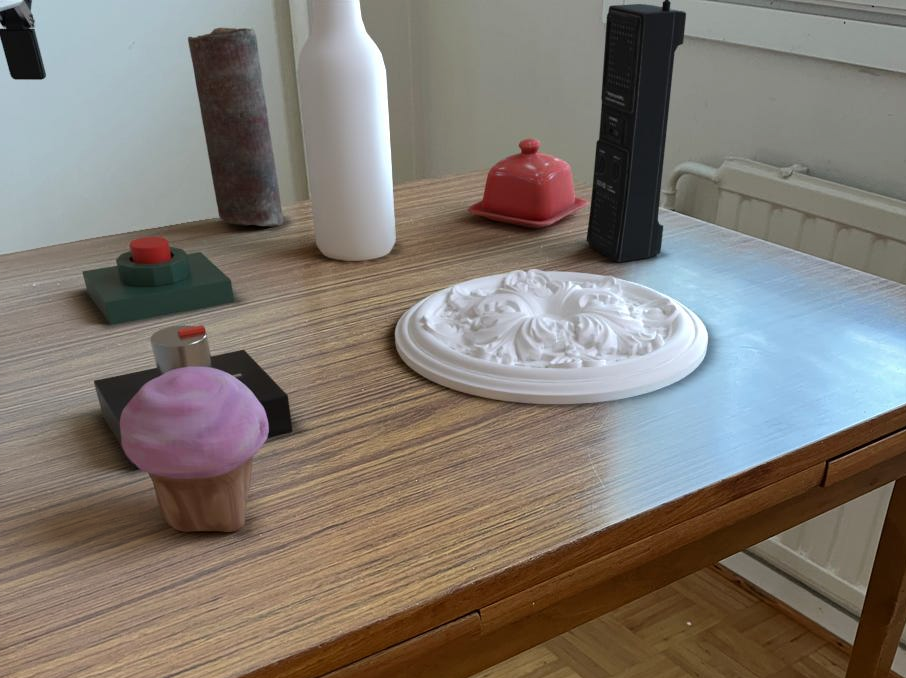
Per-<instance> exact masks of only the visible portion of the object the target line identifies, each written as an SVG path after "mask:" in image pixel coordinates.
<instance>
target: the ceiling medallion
mask: <svg viewBox="0 0 906 678" xmlns="http://www.w3.org/2000/svg"><path fill="white" fill-rule="evenodd" d="M394 340H395V348H396V351H397V354H398V355H399V357H400V358H401V360H402V361H403V362H404V363H405V365H407V366H408V367H409V368H410V369H411V370H413V371H414V372H415V373H417V374H418V375H420V376H422V377H424V378H425V379H427V380H429V381H431V382H433V383H436V384H438V385H440V386H443V387H444V388H449V389H451V390H454V391H458V392H461V393H464V394H467V395H471V396H476V397H481V398H486V399H490V400H498V401H503V402H511V403H521V404H534V405H579V404H580V405H581V404H593V403H603V402H604V403H605V402H610V401H611V402H612V401H618V400H623V399H628V398H633V397H636V396H641V395H645V394H648V393H652V392H655V391H658V390H660V389H663V388H666V387H668V386H670V385H673V384H675V383H677V382H678V381H681V380H683V379H684V378H686V377H688V376H689V375H690V374H691V373H693V372H694V370H696V369H697V368H698V367H699V366H700V365H701V364H702V362H703V360H704V358H705V356H706V354H707V350H708V341H709V335H708V331H707V328H706V325H704V323H703V321H702V320H701V319H700V318H699V316H697V315H696V314H695V313H694V312H693V311H692V310H691V309H689V308H688V307H686V306H685V305H684V304H682V303H681V302H679V301H677V300H676V299H674V298H673V297H670V296H668V295H666V294H664V293H661V292H660V291H658V290H655V289H652V288H650V287H648V286H645V285H642V284H640V283H636V282H632V281H629V280H625V279H621V278H618V277H614V276H613V275H601V274H594V273H586V272H575V271H558V270H557V271H556V270H549V271H548V270H541V269H537V268H530V269H528V270H527V271H524V270H522V269H515V270H512V271H510V272H507V273H499V274H492V275H487V276H482V277H477V278H473V279H469V280H466V281H462V282H459V283H456V284H453V285H451V286H448V287H446V288H444V289H441V290H439V291H436V292H433V293H432V294H429V295H428V296H426V297H424V298H423V299H421V300H419V301H418V302H417V303H415V304H413V305H412V306H411V307H410V308H409V309H407V310H406V311H405V312H404V313H403V314H402V315H401V317H400V318H399V319H398V321H397V323H396V325H395V331H394Z"/></svg>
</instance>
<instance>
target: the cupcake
mask: <svg viewBox="0 0 906 678" xmlns="http://www.w3.org/2000/svg"><path fill="white" fill-rule="evenodd" d="M120 431H121V443H122V447H123V449H124V451H123V453H124V452H125V453H124V454H125V456H126V455H127V456H126V458H127V457H128V458H129V459H130V460H131V461H132V462H133V463H134V464H135V465H136V466H137V467H138V468H139V469H138V470H141V471H143V472H146V473H148V475H149V477H150V480H151V482H152V484H153V488H154V491H155V497H156V499H157V503H158V506H159V509H160V512H161V515H162V517H163V519H164V521H165V522H166V523H167V524H168V525H169V526H170V527H171V528H173V529H174V530H177V531H180V532H222V533H223V532H224V533H230V532H232V533H233V532H236V531H239V530H241V529H242V528H243V527H244V525H245V523H246V511H247V504H248V497H249V492H250V489H251V483H252V475H253V474H252V473H253V461H254V460H253V459H254V456H255V455H256V454H257V453H258V452H259V450H261V448H262V447H263V445H264V444H265V442H266V441H267V439H268V438H267V437H268V432H269V426H268V419H267V416H266V412H265V410H264V408H263V406H262V405H261V403H260V402H259V401H258V399H257V398H256V397H255V395H254V394H253V393H252V391H251V390H250V389H249V388H248V387H247V386H245V385H244V384H243V383H242V382H240V381H239V380H238V379H237V378H235V377H234V376H232V375H230V374H228V373H226V372H224V371H221V370H218V369H214V368H210V367H184V368H179V369H174V370H171V371H169V372H166V373H165V374H163V375H161V376H160V377H157V378H155V379H152V380H151V381H149V382H147V383H146V384H145V385H143V386H142V388H141V389H140V390H139V392H138V393H137V394H136V395H135V396H134V397H133V398H132V399H131V401H130V402H129V403H128V404H127V405H126V407H125V408H124V409H123V411H122V414H121V418H120ZM123 449H122V450H123ZM128 458H127V459H128ZM129 459H128V460H129Z"/></svg>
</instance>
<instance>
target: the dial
mask: <svg viewBox="0 0 906 678" xmlns="http://www.w3.org/2000/svg"><path fill="white" fill-rule="evenodd" d="M149 340H150V345H151V349H152V353H153V359H154V362H155V368H157V372H158V376H159V377H160V376H161V375H163V374H165V373H166V372H169V371H171V370H174V369H179V368H184V367H210V368H213V365H212V360H211V356H212V355H211V349H210V344H209V339H208V334H207V331H206V327H205V326H204V325H203V324H201V325H185V324H184V325H173V326H169V327H165V328H162V329H159V330H157V331H155V332H153V333H152V334H151V336H150V338H149Z"/></svg>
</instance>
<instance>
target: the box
mask: <svg viewBox="0 0 906 678" xmlns="http://www.w3.org/2000/svg"><path fill="white" fill-rule="evenodd" d="M169 249H170V254H171V259H169V260H167V261H164V262H160V263H154V264H138V263H134V262H133V259H132V254H131V250H129V251H126V252H123V253H121V254H120V255H119V256H118V257H116V259H115V263H116V265H113V266H112V265H111V266H106V267H100V268H94V269H88V270H83V271H81V273H82V276H83V280H84V285H85V288H86V292H87V294H88V296H89V297H90V298H91V299H92V301H93V303H94V304H95V305H96V306H97V308H98V309H99V311H100V312H101V314H102V315H103V317H104V318H105V319H106V321H107V322H108V324H109V325H110V326H113V325H118V324H119V325H120V324H124V323H130V322H135V321H140V320H145V319H150V318H157V317H162V316H167V315H172V314H177V313H184V312H187V311H188V312H189V311H192V310H199V309H204V308H209V307H216V306H221V305H226V304H231V303H235V296H234V290H233V284H232V279H230V278H229V277H228V275H226V274H225V273H224V272H223V271H222V270H221V269H220V268H218V266H216V265H215V264H214V263H213V262H212V261H211V260H210V259H209V258H208V257H207V256H205V254H203V253H202V252H201V251H196V252H190V253H187V252H186V250H184V249H182V248H179V247H174V246H170V245H169Z"/></svg>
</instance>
